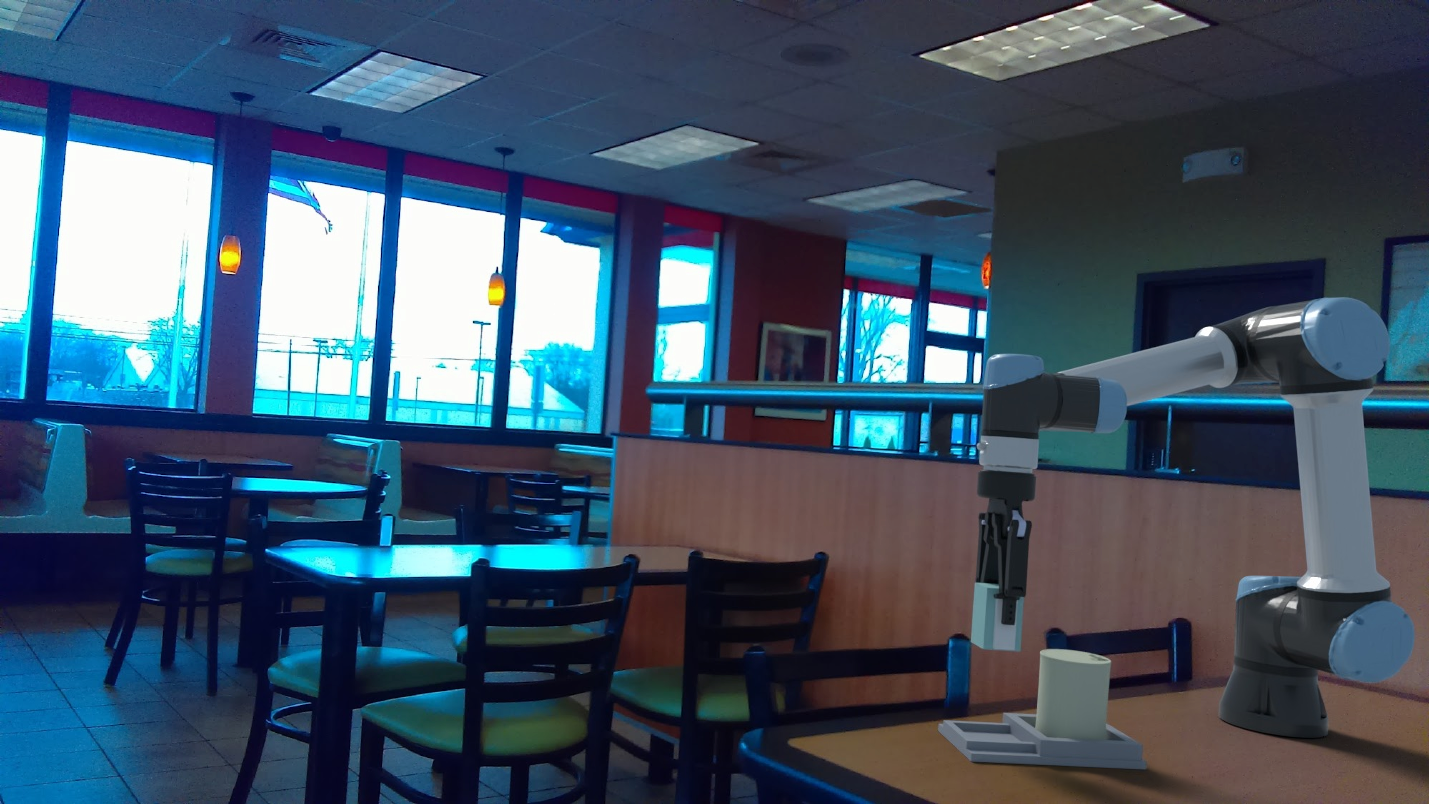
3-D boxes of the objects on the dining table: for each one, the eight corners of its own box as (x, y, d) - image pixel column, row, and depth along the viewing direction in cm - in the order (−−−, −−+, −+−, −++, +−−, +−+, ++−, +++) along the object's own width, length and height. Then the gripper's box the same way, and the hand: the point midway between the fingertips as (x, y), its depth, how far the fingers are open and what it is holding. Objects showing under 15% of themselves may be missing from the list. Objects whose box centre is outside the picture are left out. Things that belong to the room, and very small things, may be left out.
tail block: (970, 641, 146) (974, 582, 146) (1006, 644, 147) (1010, 584, 147) (983, 649, 141) (987, 587, 141) (1020, 651, 142) (1024, 590, 142)
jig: (1097, 738, 152) (1099, 717, 152) (1146, 769, 138) (1147, 745, 138) (938, 730, 150) (939, 709, 150) (970, 761, 136) (972, 737, 136)
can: (1113, 756, 139) (1119, 663, 140) (1040, 748, 140) (1046, 655, 141) (1097, 737, 148) (1103, 649, 149) (1028, 729, 150) (1034, 642, 150)
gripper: (958, 465, 153) (947, 630, 152) (1004, 470, 135) (991, 657, 135) (1010, 469, 154) (999, 634, 153) (1061, 474, 136) (1050, 660, 135)
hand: (995, 644), depth 144 cm, fingers closed on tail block, 5 cm apart
